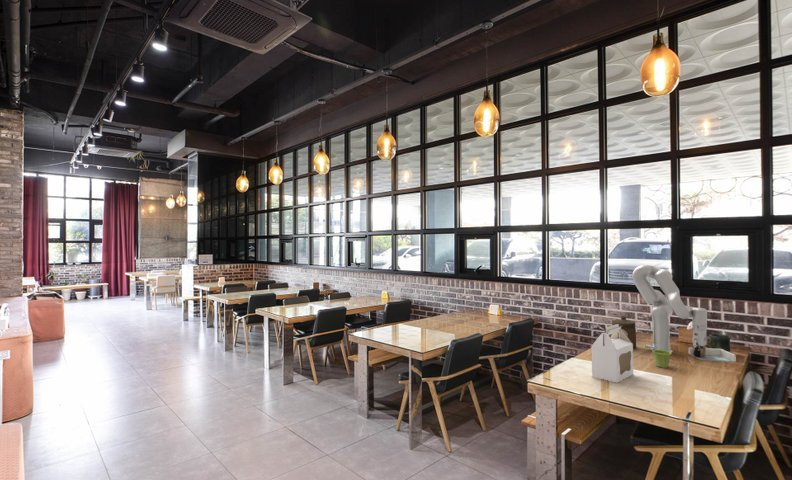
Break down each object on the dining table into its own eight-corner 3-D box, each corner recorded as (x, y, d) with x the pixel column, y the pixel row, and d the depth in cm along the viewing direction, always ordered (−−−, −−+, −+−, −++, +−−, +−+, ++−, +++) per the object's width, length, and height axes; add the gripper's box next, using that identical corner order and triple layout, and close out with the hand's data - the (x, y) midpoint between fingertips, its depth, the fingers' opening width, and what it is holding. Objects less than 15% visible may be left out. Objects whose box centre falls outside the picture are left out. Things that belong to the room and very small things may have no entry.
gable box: (616, 383, 213) (615, 330, 214) (591, 377, 223) (590, 326, 224) (633, 374, 227) (632, 324, 228) (609, 369, 237) (608, 321, 238)
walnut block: (701, 357, 256) (702, 349, 256) (692, 355, 260) (692, 347, 260) (705, 356, 258) (705, 348, 258) (696, 354, 263) (696, 346, 263)
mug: (731, 356, 261) (730, 338, 261) (702, 353, 270) (702, 335, 270) (731, 353, 269) (730, 335, 269) (703, 349, 278) (703, 332, 279)
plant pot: (674, 369, 236) (674, 354, 236) (656, 368, 238) (656, 353, 238) (667, 364, 245) (667, 350, 245) (650, 363, 247) (649, 349, 247)
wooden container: (607, 345, 294) (607, 314, 294) (623, 343, 298) (623, 313, 298) (624, 350, 280) (624, 318, 280) (641, 348, 284) (640, 317, 284)
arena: (700, 361, 251) (700, 353, 251) (688, 355, 266) (688, 347, 266) (735, 362, 247) (735, 355, 247) (721, 356, 262) (721, 348, 262)
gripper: (700, 330, 251) (700, 359, 251) (712, 327, 260) (711, 355, 261) (686, 327, 258) (686, 356, 258) (698, 324, 267) (697, 352, 267)
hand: (699, 355), depth 259 cm, fingers closed on walnut block, 5 cm apart
